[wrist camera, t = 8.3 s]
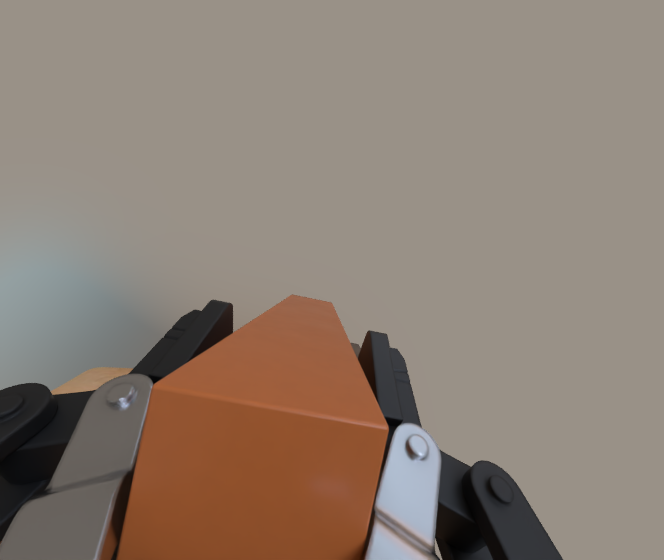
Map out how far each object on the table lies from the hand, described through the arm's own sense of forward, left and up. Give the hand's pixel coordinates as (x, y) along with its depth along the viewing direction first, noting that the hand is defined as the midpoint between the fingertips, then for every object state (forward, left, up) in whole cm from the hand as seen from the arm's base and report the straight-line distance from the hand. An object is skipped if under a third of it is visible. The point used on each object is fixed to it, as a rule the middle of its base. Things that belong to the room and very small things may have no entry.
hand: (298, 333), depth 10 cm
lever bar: (+1, -4, -3) cm, 5 cm away
